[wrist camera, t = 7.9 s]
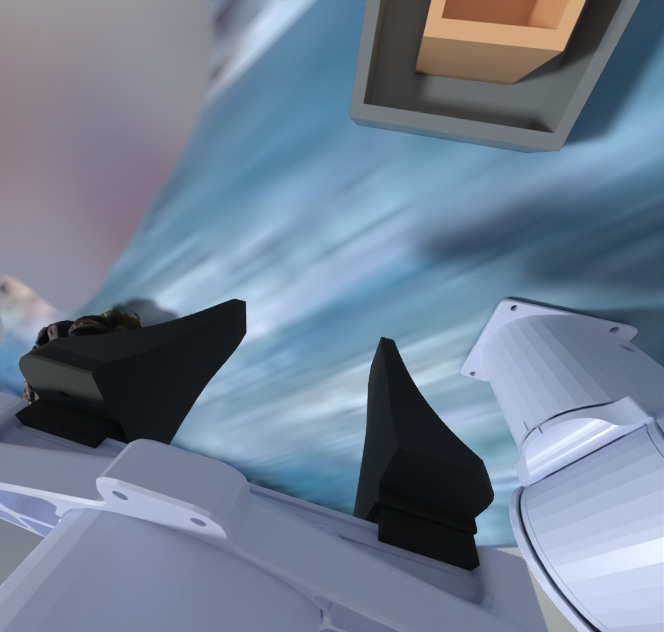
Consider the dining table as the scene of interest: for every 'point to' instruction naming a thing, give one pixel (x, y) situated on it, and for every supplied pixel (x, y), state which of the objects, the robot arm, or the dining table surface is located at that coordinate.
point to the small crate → (494, 37)
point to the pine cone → (82, 334)
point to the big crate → (474, 96)
